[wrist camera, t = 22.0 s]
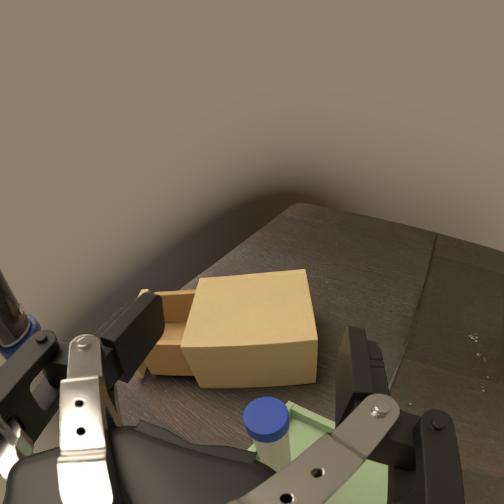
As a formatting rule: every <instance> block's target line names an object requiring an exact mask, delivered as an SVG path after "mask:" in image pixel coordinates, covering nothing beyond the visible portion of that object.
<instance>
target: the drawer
mask: <svg viewBox="0 0 504 504" xmlns="http://www.w3.org/2000/svg"><path fill="white" fill-rule="evenodd" d="M143 292H148V293H150V292H149V290H148V289H144V290H141V292H140V294H139V296H140V295H141V294H142V293H143ZM195 292H196V290H184V291H168V292H155V294H157V295H160V296H161V297H162V303H163V311H164V318H165V330H164V333H163V335H162V337H161V338H160V340H159V341H158V342H157V343H156V345H155V346H154V348H153V349H152V350H151V352H150V353H149V354H148V356H147V357H146V359H145V360H144V361H143V363H142V364H141V365H140V367H139V368H138V370H137V371H136V372H135V374H134V375H135V377H136V378H143V377H144V374H145V371H146V368H148V369H149V371H150V372H151V374H156V375H178V376H194V375H193V373H192V371H191V368H190V366H189V364H188V362H187V360H186V358H185V356H184V354H183V352H182V350H181V348H180V346H181V342H182V339H183V335H184V331H185V328H186V324H187V321H188V317H189V313H190V310H191V306H192V303H193V299H194V296H195ZM139 296H138V297H139Z"/></svg>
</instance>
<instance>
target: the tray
mask: <svg viewBox="0 0 504 504" xmlns="http://www.w3.org/2000/svg"><path fill="white" fill-rule="evenodd" d="M286 407H287V409H288V412H289V429H288V430H289V441H290V453H291V461H293V460H294V459H295V458H296V457H298V456H299V455H300V454H301V453H303V452H304V451H305V450H306V449H307V448H308V447H310V446H311V445H312V444H313V443H314V442H315V441H317V440H318V439H319V438H320V437H321V436H322V435H324V434H325V433H327V432H329V433H331V432H332V431H333V430H335V422H333V421H331V420H329V419H326V418H324V417H322V416H320V415H318V414H315V413H313V412H311V411H309V410H307V409H305V408H303V407H301V406H299V405H297V404H294V403H293V402H291V401H288V402H287V404H286ZM248 451H253V452H257V450H256V447H255V445H254V443H253V444H252V445H251V446H250V447H249V449H248ZM256 460H258V461H260V462H262V461H261V459H260V457H259V454H258V452H257V455H256ZM387 491H388V465H385V464H381V463H378V462H374V461H371V460H368V459H367V460H366V461H365V462H364V463H363V464H362V465H361V467H360V468H359V469H358V470H357V471H356V472H355V473H354V474H353V475H352V476H351V477H350V478H349V480H348V481H347V482H346V483H345V484H344V485H343V486H342V487H341V488H340V489H339V490H338V491H337V492H336V493H335V494H334V495H333V496H332V497H331V498H330V499H329V500H328V501H327V502H325V503H324V504H387Z"/></svg>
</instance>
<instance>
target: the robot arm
mask: <svg viewBox="0 0 504 504" xmlns="http://www.w3.org/2000/svg"><path fill="white" fill-rule="evenodd" d="M31 325H32V323H31V320H30V319H29V317H28V316H27V315H26V313H25V312H24V310H23V306H22V304H19V302H18V300H17V299H16V297H15V295H14V294H13V292H12V290H11V288H10V287H9V285H8V283H7V281H6V279H5V277H4V276H3V274H2V272H1V270H0V347H3V348H4V349H11V348H13V347H15V346H17V345H18V344H20V343H21V342H22V341H23V340H24V339H25V338H26V336H27V335H28V333H29V332H30V329H31ZM164 330H165V318H164V311H163V303H162V297H161V296H160V295H157V294H153V293H148V292H143V293H142V294H141V295H140V296H139V297H138V298H137V299H136V300H132V301H130V302H128V303H126V304H124V305H123V306H122V307H121V308H120V309H119V310H118V311H117V313H115V314H114V315H113V316H112V318H110V319H109V320H108V321H107V322H106V323H105V324H104V325H103V326H102V327H101V328H100V329H99V330H98V331H97V332H96V333H95V334H94V335H90V334H86V335H81V336H78V337H76V338H75V339H73V340H72V341H71V342H61V341H58V340H57V338H56V335H55V333H54V332H53V331H50V330H41V331H38V332H36V333H34V334H33V335H32V336H31V337H30V338H29V339H28V340H27V341H26V342H25V343H24V344H23V345H22V346H21V347H20V348H19V349H18V350H17V351H16V352H15V353H14V354H13V355H12V356H11V357H10V358H9V359H8V360H7V361H6V362H5V363H4V364H3V365H2V366H1V367H0V476H2V477H3V478H5V479H6V480H7V483H6V492H5V498H4V502H3V504H324V503H325V502H327V501H328V500H329V499H330V498H331V497H332V496H333V495H334V494H335V493H336V492H337V491H338V490H339V489H340V488H341V487H342V486H343V485H344V484H345V483H346V482H347V481H348V480H349V478H350V477H351V476H352V475H353V474H354V473H355V472H356V471H357V470H358V469H359V468H360V467H361V465H362V464H363V463H364V462H365V461H366V460H367V459H368V460H371V461H374V462H378V463H381V464H385V465H388V491H387V504H465V500H464V488H463V478H462V470H461V463H460V456H459V450H458V444H457V439H456V434H455V429H454V424H453V421H452V419H451V417H450V416H449V415H448V414H447V413H445V412H443V411H441V410H436V409H433V410H429V411H427V412H425V413H424V414H423V415H422V417H420V416H416V415H413V414H409V413H406V412H403V411H401V410H400V408H399V405H398V404H397V402H396V401H395V400H394V399H393V398H391V397H390V394H389V389H388V383H387V377H386V372H385V368H384V362H383V357H382V352H381V349H380V348H379V346H378V345H377V344H376V342H375V341H368V340H367V338H366V333H365V328H360V327H351V326H347V327H346V329H345V332H344V335H343V338H342V342H341V345H340V348H339V352H338V355H337V360H336V414H335V430H333V431H332V432H331V433H329V432H327V433H325V434H324V435H322V436H321V437H320V438H319V439H318V440H317V441H315V442H314V443H313V444H312V445H311V446H310V447H308V448H307V449H306V450H305V451H304V452H303V453H301V454H300V455H299V456H298V457H296V458H295V459H294V460H293V461H291V462H290V463H289V464H288V465H286V466H285V467H284V468H282V469H281V470H280V471H278V472H276V471H275V470H273V469H272V468H271V467H269V466H268V465H266V464H264V463H262V462H260V461H258V460H256V455H257V452H253V451H248V450H243V449H238V448H233V447H229V446H214V445H196V444H191V443H189V442H188V441H186V440H184V439H182V438H181V437H179V436H177V435H176V434H174V433H172V432H171V431H169V430H167V429H165V428H162V427H159V426H157V425H154V424H151V423H148V422H146V421H143V420H140V421H139V423H138V424H137V426H123V423H122V419H121V414H120V408H119V402H118V396H117V389H116V385H115V383H116V382H117V381H118V380H120V381H123V382H125V383H128V382H129V381H130V379H131V378H132V376H133V375H134V374H135V372H136V371H137V370H138V368H139V367H140V365H141V364H142V363H143V361H144V360H145V359H146V357H147V356H148V354H149V353H150V352H151V350H152V349H153V348H154V346H155V345H156V343H157V342H158V341H159V339H160V338H161V337H162V335H163V333H164ZM41 370H42V372H43V374H44V375H45V378H44V379H43V380H42V381H41V382H40V384H39V385H38V386H37V387H36V388H35V390H34V391H33V392H32V393H31V392H30V384H31V382H32V381H33V379H34V378H35V377H36V376H37V375H38V374H39V373H40V371H41ZM58 409H59V438H60V446H59V447H56V448H53V449H50V450H47V451H43V452H40V453H36V454H34V453H33V449H34V445H33V444H34V443H35V441H36V440H37V438H38V437H39V436H40V434H41V433H42V431H43V430H44V428H45V427H46V426H47V424H48V423H49V421H50V420H51V418H52V417H53V416H54V414H55V413H56V411H57V410H58Z"/></svg>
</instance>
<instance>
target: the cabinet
mask: <svg viewBox="0 0 504 504" xmlns="http://www.w3.org/2000/svg"><path fill="white" fill-rule="evenodd" d="M180 348H181V350H182V352H183V354H184V356H185V358H186V360H187V362H188V364H189V366H190V368H191V371H192V373H193V375H194V376H195V378H196V380H197V382H198V384H199V386H200V388H253V387H273V386H287V385H299V384H309V383H316V372H317V352H318V336H317V330H316V325H315V319H314V313H313V308H312V302H311V297H310V291H309V286H308V281H307V276H306V271H305V269H301V270H290V271H280V272H269V273H258V274H247V275H235V276H223V277H211V278H200V279H199V282H198V286H197V289H196V292H195V296H194V299H193V303H192V306H191V310H190V313H189V317H188V321H187V324H186V328H185V331H184V335H183V339H182V342H181V346H180Z"/></svg>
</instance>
